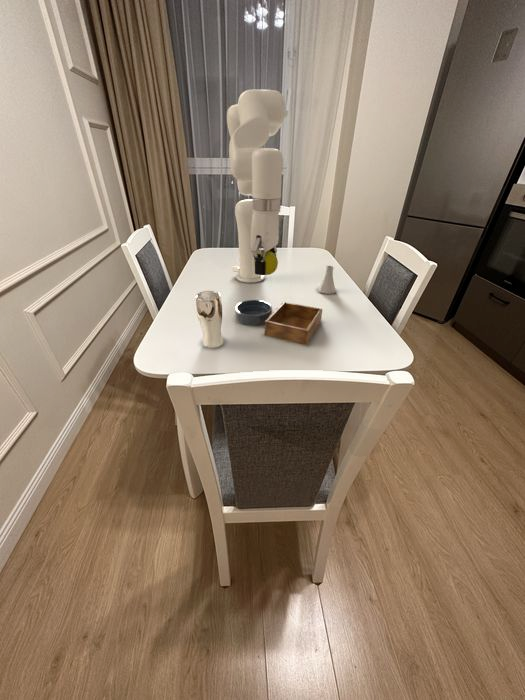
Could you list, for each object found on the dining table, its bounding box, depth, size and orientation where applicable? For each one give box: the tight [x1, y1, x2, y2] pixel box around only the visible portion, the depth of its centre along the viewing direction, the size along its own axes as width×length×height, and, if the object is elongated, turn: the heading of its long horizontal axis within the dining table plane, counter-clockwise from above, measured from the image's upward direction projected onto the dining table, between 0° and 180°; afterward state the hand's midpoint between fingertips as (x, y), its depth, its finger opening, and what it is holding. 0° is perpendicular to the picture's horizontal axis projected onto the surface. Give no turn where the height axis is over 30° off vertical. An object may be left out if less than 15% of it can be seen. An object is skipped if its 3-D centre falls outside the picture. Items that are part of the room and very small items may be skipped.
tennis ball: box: [254, 251, 279, 276], centre depth 85 cm, size 7×7×7 cm
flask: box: [317, 265, 336, 295], centre depth 115 cm, size 7×7×10 cm
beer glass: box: [195, 290, 224, 349], centre depth 80 cm, size 7×7×15 cm
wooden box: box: [264, 301, 323, 346], centre depth 90 cm, size 14×16×5 cm
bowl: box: [234, 299, 273, 327], centre depth 96 cm, size 12×12×4 cm
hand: (265, 269), depth 86 cm, fingers closed on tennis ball, 7 cm apart
